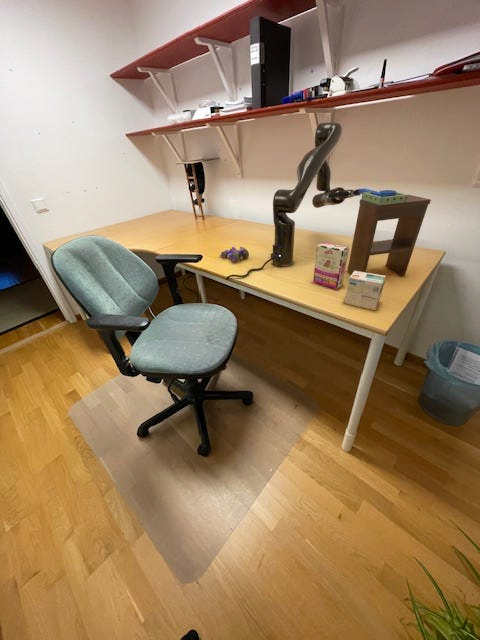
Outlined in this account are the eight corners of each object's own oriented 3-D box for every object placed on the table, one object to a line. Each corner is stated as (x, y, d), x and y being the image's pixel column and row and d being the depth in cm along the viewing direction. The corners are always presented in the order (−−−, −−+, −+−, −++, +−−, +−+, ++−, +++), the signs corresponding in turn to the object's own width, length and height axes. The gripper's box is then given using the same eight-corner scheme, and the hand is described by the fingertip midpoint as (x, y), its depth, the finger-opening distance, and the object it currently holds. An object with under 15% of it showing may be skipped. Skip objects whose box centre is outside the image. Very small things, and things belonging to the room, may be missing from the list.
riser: (405, 276, 107) (431, 199, 90) (360, 282, 106) (378, 205, 88) (387, 265, 117) (407, 194, 100) (346, 271, 115) (359, 199, 98)
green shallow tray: (406, 202, 89) (408, 194, 88) (379, 205, 88) (381, 197, 87) (385, 196, 99) (387, 189, 98) (361, 199, 98) (362, 192, 97)
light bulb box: (379, 302, 93) (387, 275, 87) (375, 311, 88) (383, 283, 82) (348, 295, 98) (354, 269, 92) (343, 303, 94) (349, 276, 87)
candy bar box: (342, 285, 105) (350, 246, 95) (336, 290, 102) (343, 250, 93) (318, 278, 112) (323, 241, 102) (312, 282, 109) (316, 244, 99)
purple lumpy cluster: (230, 252, 145) (229, 241, 141) (249, 258, 136) (248, 246, 132) (217, 257, 140) (216, 246, 136) (236, 264, 131) (235, 252, 127)
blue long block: (397, 200, 90) (399, 191, 88) (384, 201, 90) (386, 193, 88) (366, 192, 106) (368, 184, 104) (355, 193, 106) (356, 185, 104)
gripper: (321, 190, 127) (335, 184, 112) (348, 186, 128) (366, 181, 112) (321, 206, 129) (335, 203, 114) (348, 203, 130) (365, 199, 115)
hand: (351, 192), depth 113 cm, fingers open, 8 cm apart
